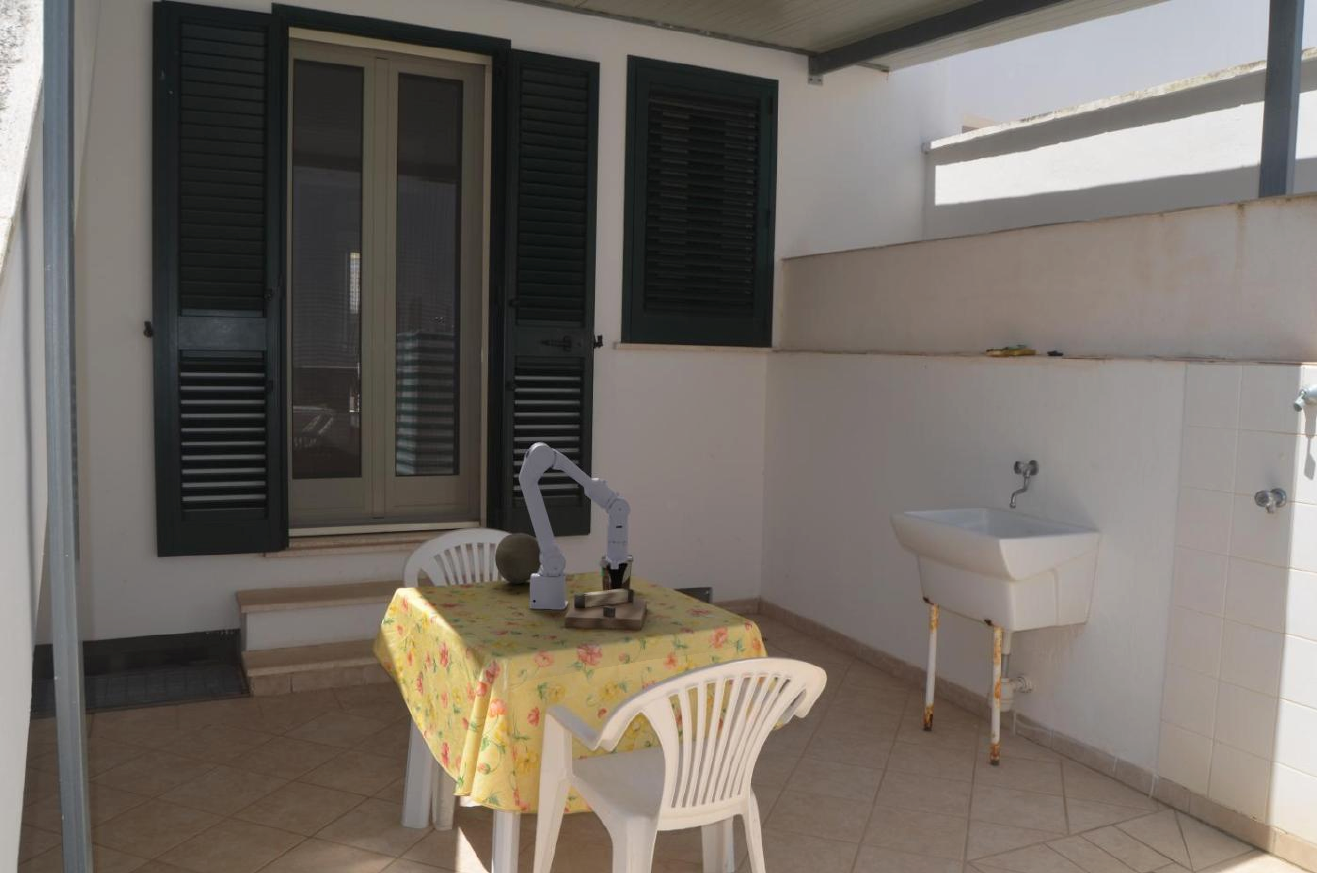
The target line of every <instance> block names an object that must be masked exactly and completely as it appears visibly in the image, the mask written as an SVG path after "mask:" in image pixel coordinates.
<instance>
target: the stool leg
mask: <svg viewBox="0 0 1317 873" xmlns="http://www.w3.org/2000/svg"><path fill="white" fill-rule="evenodd" d="M634 595H635V594H634V589H633V588H631V587H630V588H622V589H614V590H606V591H603V590H600V591H598V590H597V591H591V592H583V593H575V594H574V595H573V596H574V598H573V602H574V607H577V608H584V607H591V606H599V605H608V604H616V603H624V602H633V599H634Z"/></svg>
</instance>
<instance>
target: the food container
mask: <svg viewBox="0 0 1317 873" xmlns="http://www.w3.org/2000/svg"><path fill="white" fill-rule="evenodd" d="M606 556H607V554H605V555H602V556H601V557H600V559H599V562H598V566H599V567H601V584H602V591H606V590H613V589H612V585H611V579H610V575H609V572H608V570H607V568H606V565H607V564H609V562H608V561H607V560H606ZM628 556H630V557H632V560H627V561H625V562H623V563H628V566H627V568H626V570H625V573H624V576H623V582H622V587H621V589H622V588H630V589H631V578H632V567H633V563H634V556H633V554H628Z"/></svg>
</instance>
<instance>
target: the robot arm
mask: <svg viewBox="0 0 1317 873" xmlns="http://www.w3.org/2000/svg"><path fill="white" fill-rule="evenodd" d="M549 468H552V470H560V471H562V472H564V473H565V474H566V475H568V476H569V477H570V478H572V479H573V480H575V481H576V482H577V483H578V484H580V485H581V486H582V487H583V488H584V495H585V496H587V497H588V498H589V500H591V501H592V502H594V503H595V504H596V505H597V506H598V507H599V508H601V509H602V510H605V512H606V513H607V524H606V555H607V556H606V560H607V561H608V562H609V564H607V565H606V568H607V570H608V572H609V575H610V579H611V585H612V589H613V590H614V589H621V587H622V582H623V576H624V573H625V570H626V568H627V566H628V563H623V562H625V561H627V560H632V557H633V556H632V557H630V556H628V555H629V554H628V553H629V552H628V550H629V524H628V520H629V515H630V513H631V508H630V505H629V502H628V501H627V500H626V499H625V498H624V497H623V496H622V495H621V493H620V492H619V491H617V490H614V489H613V488H612V487H610V486H609V485H608V484H607V481H606V480H605V479H604V478H602V479H600V477H594V478H591V477H590V475H587V474H586V472H585V471H583V470H582V469H581V468H579V466H577V465H576V464H575V463H574V462H573V461H572V460H570V458H568V457H567V456H566V455H564V454H562V453H561V452H559V451H558V450H556V449H554V448H552V447H550V446H549V445H548V444H547V443H545V442H535V443H533V444H532V445H531V446H530V447H529V449H528V450H527V451H526V452H525V454H524V457H523V462H522V466H521V469H520V472H519V475H518V481H519V484H520V488H521V491H522V493H523V497H524V501H525V504H526V507H527V511H528V514H529V518H530V520H531V524H532V527H533V529H534V534H535V537H536V540H537V541H538V545H539V548H540V556H539V560H540V563H541V567H540V568H539V570H538V572H537V573H533V574H532V575H531V579H530V580H529V581H530V582H529V607H528V608H529V609H531V610H532V609H533V610H534V609H536V610H560V611H561V610H565V609H566V608H567V606H568V604H569V601H567V600H566V588H567V587H566V581H567V580H566V578H567V577H566V576H567V575H566V574H567V572H566V570H565V569H566V566H567V560H566V558H565V556H564V555H563V553H562V551H561V550H560V549H559V547H558V545H557V541H556V538H555V535H554V532H553V529H552V524H551V523H550V519H549V515H548V512H547V509H546V506H545V502H544V499H543V495H542V493H541V490H540V487H539V483H538V482H539V480H540V479H541V477H542V476H543V474H544V472H545V471H547V470H548V469H549Z"/></svg>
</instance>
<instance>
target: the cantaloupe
mask: <svg viewBox="0 0 1317 873" xmlns="http://www.w3.org/2000/svg"><path fill="white" fill-rule="evenodd" d="M539 556H540V548H539V545H538V540H537V538H535V537H534V536H533V535H530V534H528V533H523V532H515V533H511V534H508V535H506V536H505V537H503V538H502V539H501V540H500V541H499V543H498V545H497V546H496V550H495V555H494V561H495V566H496V569H497V571H498V573H499V574H500V576H501V577H502V578H503V579H504V580H505V581H507V582H508V583H511V584H516V585H517V584H523V583H526V582H529V581H530V579H531V575H532V574H533V573H539V570H540V569H541V567H542V565H541V563H540V560H539Z"/></svg>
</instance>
